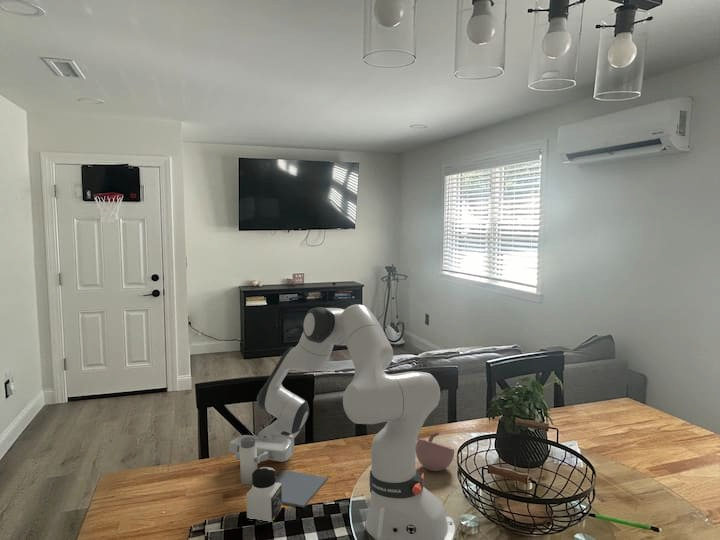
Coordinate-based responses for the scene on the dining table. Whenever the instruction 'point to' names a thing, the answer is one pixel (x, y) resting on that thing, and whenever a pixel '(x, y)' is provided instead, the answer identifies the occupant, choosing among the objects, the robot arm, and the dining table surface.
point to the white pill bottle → (247, 459)
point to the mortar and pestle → (434, 454)
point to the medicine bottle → (264, 495)
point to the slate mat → (299, 487)
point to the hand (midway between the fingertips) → (247, 459)
